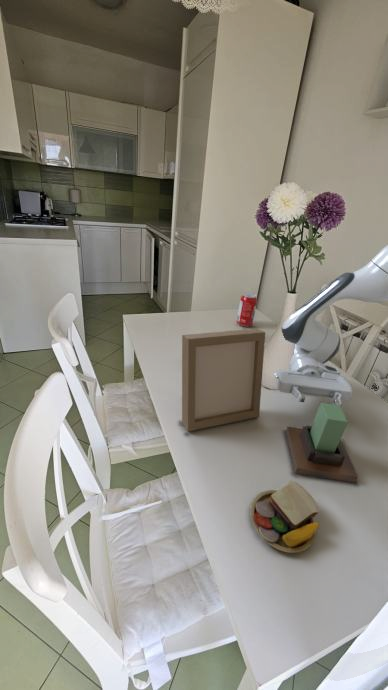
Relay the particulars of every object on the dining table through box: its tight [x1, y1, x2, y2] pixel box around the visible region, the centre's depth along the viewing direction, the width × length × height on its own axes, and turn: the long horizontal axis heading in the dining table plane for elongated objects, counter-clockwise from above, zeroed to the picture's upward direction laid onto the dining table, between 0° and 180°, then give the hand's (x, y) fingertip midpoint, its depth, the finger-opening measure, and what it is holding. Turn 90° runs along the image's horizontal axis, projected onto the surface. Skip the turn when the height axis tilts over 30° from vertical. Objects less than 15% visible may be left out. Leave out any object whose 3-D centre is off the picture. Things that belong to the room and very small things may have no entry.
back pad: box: [309, 402, 349, 453], centre depth 74 cm, size 4×6×12 cm
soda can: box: [236, 292, 258, 328], centre depth 145 cm, size 8×8×15 cm
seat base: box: [285, 425, 359, 484], centre depth 76 cm, size 14×14×5 cm
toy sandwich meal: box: [249, 480, 320, 554], centre depth 59 cm, size 12×14×5 cm
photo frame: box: [181, 328, 266, 432], centre depth 83 cm, size 15×22×25 cm
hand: (319, 402), depth 80 cm, fingers open, 8 cm apart
